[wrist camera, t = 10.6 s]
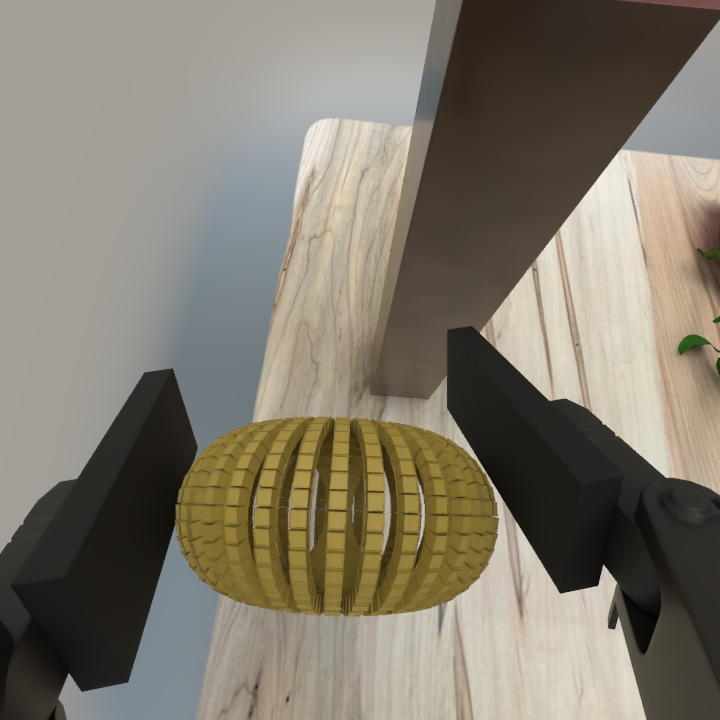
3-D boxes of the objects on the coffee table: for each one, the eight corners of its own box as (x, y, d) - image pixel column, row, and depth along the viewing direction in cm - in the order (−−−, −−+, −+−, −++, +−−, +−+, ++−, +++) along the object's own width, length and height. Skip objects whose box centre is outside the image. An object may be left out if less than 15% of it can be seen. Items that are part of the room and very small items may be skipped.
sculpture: (215, 569, 15) (79, 633, 7) (231, 446, 16) (132, 388, 8) (455, 578, 15) (575, 649, 7) (451, 456, 16) (550, 408, 8)
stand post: (370, 394, 37) (489, -116, 7) (374, 339, 39) (484, -266, 9) (428, 399, 37) (801, -86, 7) (430, 344, 39) (737, -241, 9)
